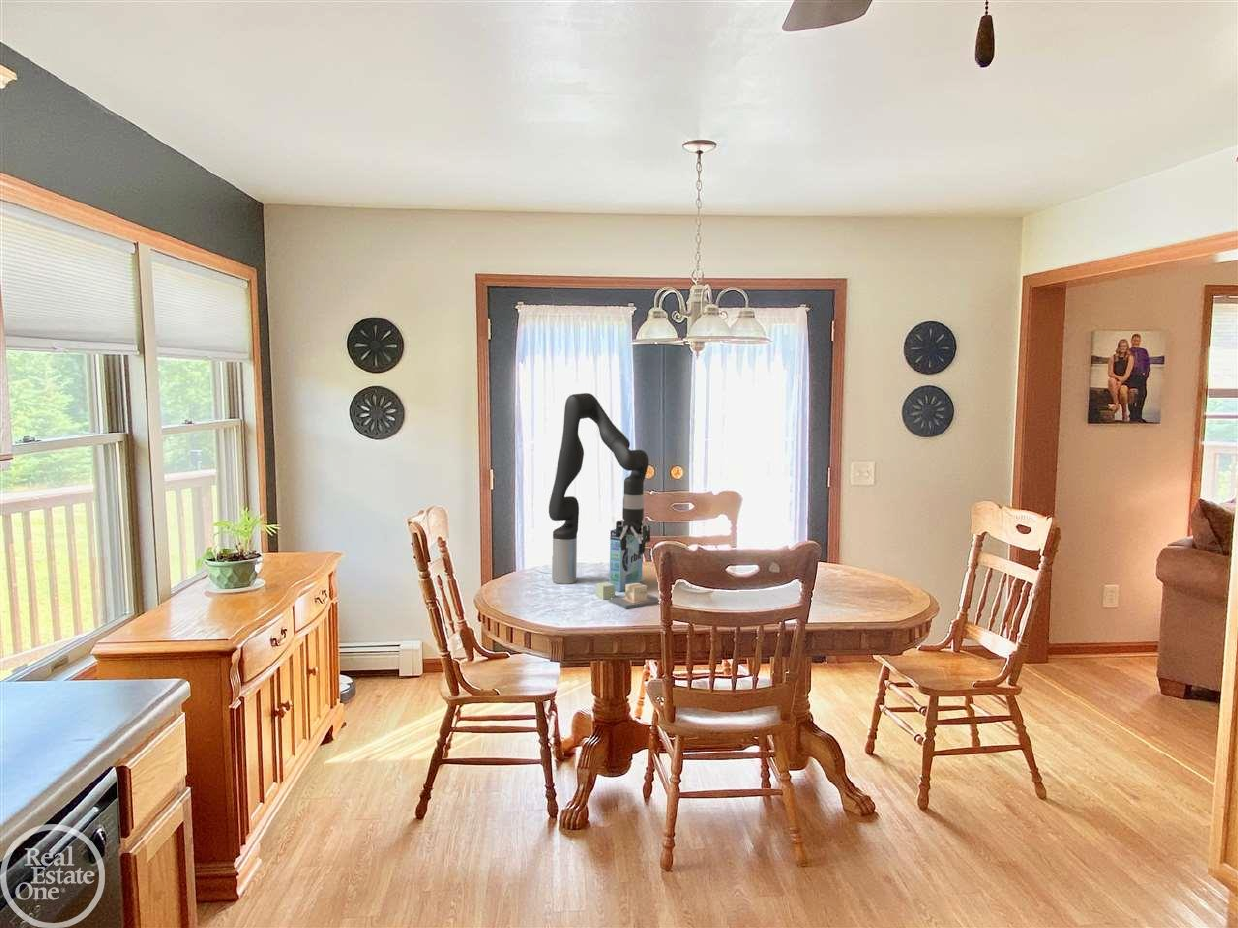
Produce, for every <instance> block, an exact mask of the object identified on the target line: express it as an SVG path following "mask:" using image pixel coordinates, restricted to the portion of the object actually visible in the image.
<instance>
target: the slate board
mask: <svg viewBox="0 0 1238 928" xmlns="http://www.w3.org/2000/svg"><path fill="white" fill-rule="evenodd" d="M658 598H659V597H656V596H654V595H652V594H649V593H647V600H642V601H636V602H633V601H631V600H628V599H626V598H625V596H620V597H615V598H612V599H608V603H610V604H613V605H615V604H616V605H615V606H617V607H620V608H622V609H624V610H627V609H629V610H630V609H634V608H633V607H635V608H641V607H646V606H647V605H648V606H652V605H653V604H654V605H659V604H658V602H659V600H658ZM640 606H641V607H640Z"/></svg>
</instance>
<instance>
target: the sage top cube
mask: <svg viewBox="0 0 1238 928" xmlns="http://www.w3.org/2000/svg"><path fill="white" fill-rule="evenodd" d="M595 597H596V598H597V597H598V599H599V598H600V600H602V599H603V600H602V601H605V600H604V599H607V600H609V599H611V598H616V591H615V585H614V584H612V583H609V582H608V581H606V582H597V583H596V584H595Z"/></svg>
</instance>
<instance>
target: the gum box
mask: <svg viewBox="0 0 1238 928" xmlns="http://www.w3.org/2000/svg"><path fill="white" fill-rule="evenodd" d="M623 530H624V527H623ZM642 532H643V531H642ZM639 535H640V533H639ZM609 537H610V538H609V539H610V540H609V541H610V542H609V545H610V546H609V547H610V548H609V549H610V550H609V578H608V579H609V583H612V584H614V585H615V592H616V591H618V592H617V593H621V592H623V591H625V586H626V584H632V583H641V582H643V560H644V559H643V557H644V556H643V555H644V554H639V544H640V543H639V541H638V539H636V537H635V536H632V535H628V536H627V538H626V539H625V540H626V550H624V551H622V550H621V548H620V539H619V538H618V537H616V528H615V529H611V530H610V535H609ZM641 540H642V539H641Z"/></svg>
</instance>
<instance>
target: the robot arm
mask: <svg viewBox="0 0 1238 928" xmlns="http://www.w3.org/2000/svg"><path fill="white" fill-rule="evenodd" d="M582 419H590V420H591V421H593V422H594V423H595V424H596V425H597V427H598V432H599V436H600V439H601V441H602V442H603V443H604V444H605V446H607V448H608V449H609V450H610V451H611V452H612V454H613V455H614V457H615V459H616V461H617V463H618V465H619V466H620V467H621V468H622V469H624V470H625V471H630V475H628V476H627V477H625V478H624V480H623V495H622V496H623V497H622V515H621V516H622V520H617V521H616V523H615V529H616V537H618V538H619V539H620V548H621V550H622V551H624V550H626V540H625V539H626V538H627V536H628V535H632V536H635V537H636V539H638V541H639V543H640V544H639V554H643V555H644V554H645V552H646V544H647V543H650V542H651V526H650V524H646V525H645V524H644V523H643V521H644V519H645V517H644V516H645V514H644V513H645V512H644V511H645V498H644V497H645V496H644V490H645V489H644V486H645V485H644V483H645V481H646V476H647V472H648V470H649V469H648V468H649V456H648V454H647V452H646V451H644V450H643V449H633V450H632V449H630V446H631V445H630V444H631V443H630V441H629V439H628V438H627V437H626V436H625V435H624V434H623V432H621V430H620V429H619V428H618V427H617V426H616V425H615V424H614V423H613V421H612V420H611V419H610V417H609V416H608V414H607V413H606V411H605V410H604V409H603V407H602V405H601V404H600V402H599V401H598V400H597V398H596V397H595V396H594V395H593V394H592V393H590V392H589V393H587V392H586V393H575V394H571V395H569V396H568V397H567V398H566V400H565V403H564V409H563V425H562V426H563V428H562V436H561V443H560V449H559V454H558V460H557V467H556V474H555V479H554V484H553V487H552V491H551V492H552V493H551V495H550V499H549V504H548V514H549V518H550V519H551V521H554V522H562V521H564V523H563V524H562V525H561V526H559V527H558V528H556V529H554V530H553V532H552V567H551V568H552V570H551V573H552V574H551V575H552V576H551V577H552V579H551V580H552V582H553V583H556V584H562V585H563V584H565V585H566V584H567V585H568V584H573V583H576V582H577V570H578V569H577V567H578V566H577V563H578V562H577V560H578V559H577V552H578V551H577V549H578V547H577V544H578V542H577V541H578V530H579V516H580V505H579V501H578V499H577V497H576V496H573V495H572V496H571V495H570V496H569V495H568V496H566V493H567V490H568V488H569V487H570V485H571V484H572V482H574V480H575V479H576V478H577V477H578V475H579V474H580V473H581V470H582V467H583V461H584V456H585V450H584V445H583V444H582V441H581V438H580V435H579V428H580V427H579V426H580V422H581V420H582ZM623 527H624V530H623ZM642 531H643V532H642ZM639 533H640V535H639ZM641 539H642V540H641Z"/></svg>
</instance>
